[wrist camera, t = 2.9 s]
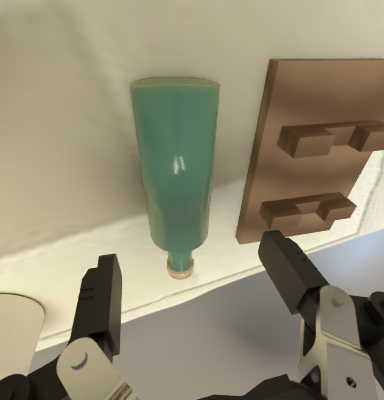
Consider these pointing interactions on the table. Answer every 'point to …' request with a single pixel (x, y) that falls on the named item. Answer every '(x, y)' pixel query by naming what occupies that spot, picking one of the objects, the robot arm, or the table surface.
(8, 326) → the mug
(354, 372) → the robot arm
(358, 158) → the bottle rest
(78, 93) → the table surface
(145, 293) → the table surface
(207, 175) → the bottle
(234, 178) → the table surface
